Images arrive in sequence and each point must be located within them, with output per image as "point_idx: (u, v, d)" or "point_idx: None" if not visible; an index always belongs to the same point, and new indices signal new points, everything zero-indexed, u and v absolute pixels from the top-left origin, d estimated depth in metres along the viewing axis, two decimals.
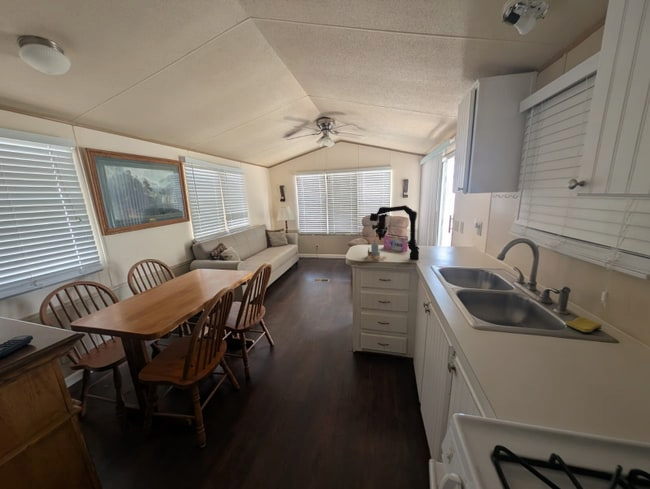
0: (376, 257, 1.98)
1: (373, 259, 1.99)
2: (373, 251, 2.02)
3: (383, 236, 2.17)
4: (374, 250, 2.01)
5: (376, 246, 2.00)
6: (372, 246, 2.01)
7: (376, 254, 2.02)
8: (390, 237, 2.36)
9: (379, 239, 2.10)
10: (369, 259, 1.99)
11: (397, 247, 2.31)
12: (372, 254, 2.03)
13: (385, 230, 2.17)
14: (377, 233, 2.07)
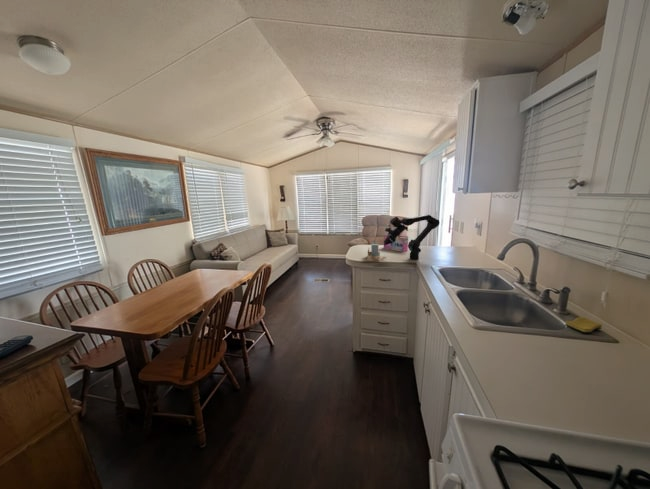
0: (376, 257, 1.98)
1: (373, 259, 1.99)
2: (373, 251, 2.02)
3: (385, 241, 2.05)
4: (374, 250, 2.01)
5: (376, 246, 2.00)
6: (372, 246, 2.01)
7: (376, 254, 2.02)
8: None
9: (384, 244, 1.96)
10: (369, 259, 1.99)
11: (397, 247, 2.31)
12: (372, 254, 2.03)
13: None
14: (388, 238, 1.93)
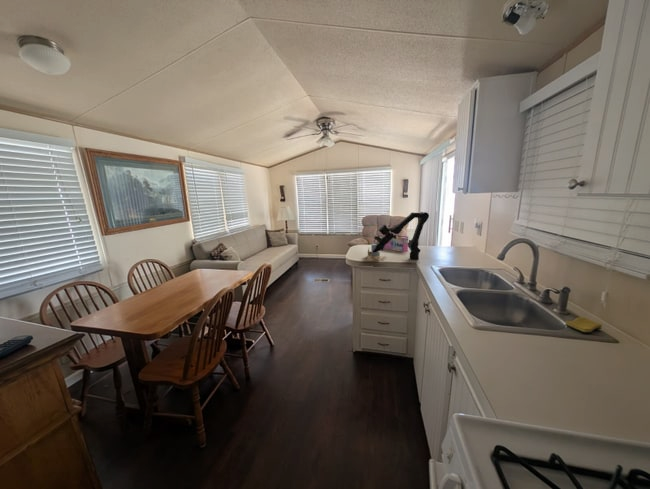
0: (376, 257, 1.98)
1: (373, 259, 1.99)
2: None
3: None
4: None
5: None
6: (372, 246, 2.01)
7: (376, 254, 2.02)
8: None
9: (373, 251, 2.01)
10: (369, 259, 1.99)
11: (397, 247, 2.31)
12: (372, 254, 2.03)
13: None
14: (376, 246, 1.98)
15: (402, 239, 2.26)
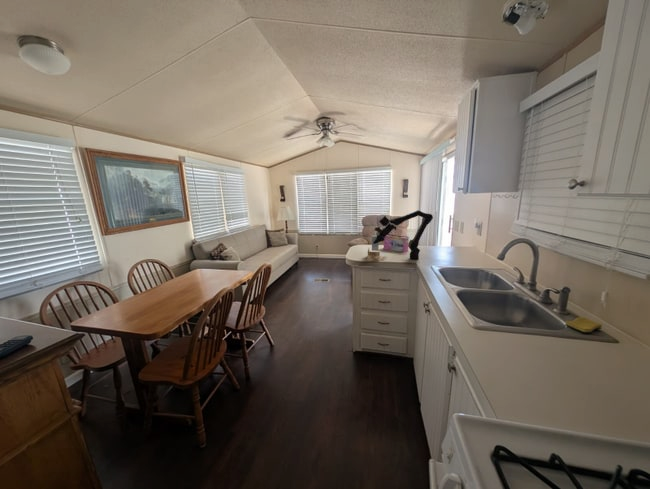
0: (376, 257, 1.98)
1: (373, 259, 1.99)
2: None
3: None
4: None
5: (376, 237, 2.01)
6: (372, 237, 2.02)
7: (376, 245, 2.03)
8: (390, 237, 2.34)
9: (373, 242, 2.02)
10: (369, 259, 1.99)
11: (398, 248, 2.30)
12: (372, 245, 2.03)
13: None
14: (377, 237, 1.99)
15: (403, 239, 2.25)
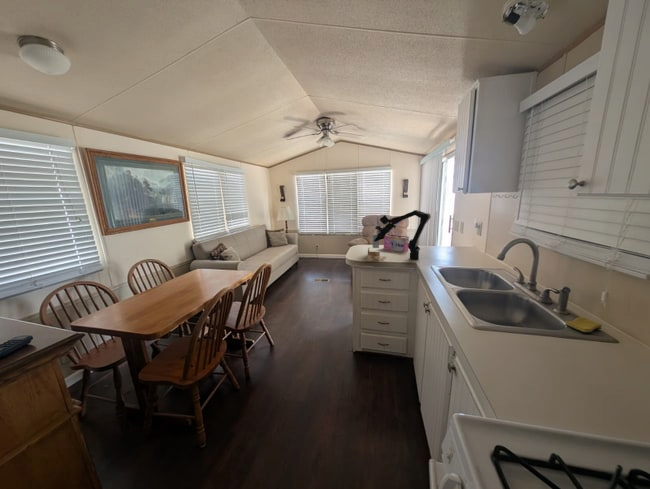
0: (376, 257, 1.98)
1: (373, 259, 1.99)
2: None
3: None
4: None
5: None
6: (373, 235, 2.14)
7: (377, 243, 2.15)
8: (391, 237, 2.33)
9: (374, 240, 2.14)
10: (369, 259, 1.99)
11: (398, 248, 2.30)
12: (373, 243, 2.15)
13: None
14: (377, 235, 2.11)
15: (403, 239, 2.25)
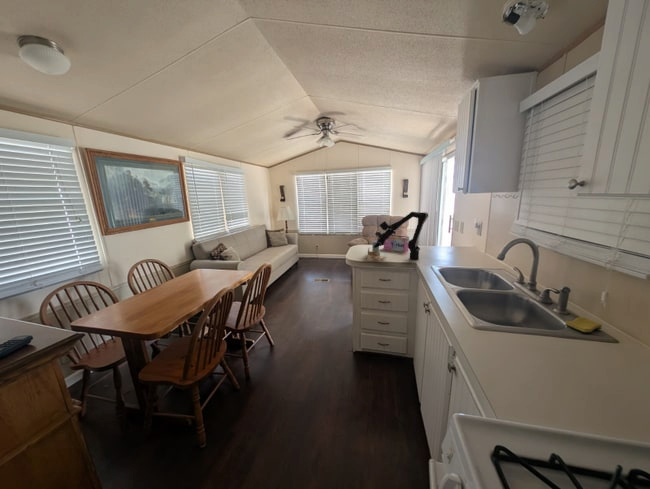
0: (376, 257, 1.98)
1: (373, 259, 1.99)
2: (374, 248, 2.16)
3: None
4: None
5: None
6: (373, 243, 2.15)
7: (377, 250, 2.16)
8: (391, 238, 2.33)
9: (374, 246, 2.14)
10: (369, 259, 1.99)
11: (398, 248, 2.29)
12: (373, 250, 2.17)
13: None
14: (377, 241, 2.10)
15: (403, 239, 2.24)
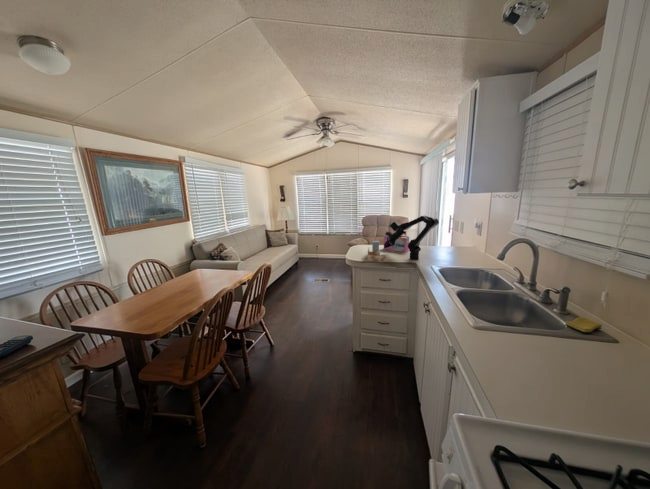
0: (376, 257, 1.98)
1: (373, 259, 1.99)
2: (374, 248, 2.16)
3: (385, 244, 2.20)
4: (375, 247, 2.16)
5: (377, 243, 2.15)
6: (373, 243, 2.15)
7: (377, 250, 2.16)
8: None
9: (384, 247, 2.12)
10: (369, 259, 1.99)
11: (398, 248, 2.29)
12: (373, 250, 2.17)
13: None
14: (387, 242, 2.08)
15: (403, 239, 2.24)
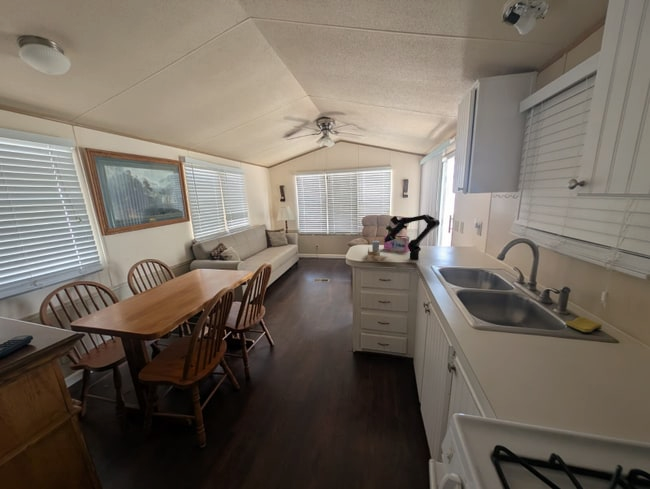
0: (376, 257, 1.98)
1: (373, 259, 1.99)
2: (374, 248, 2.16)
3: (386, 239, 2.19)
4: (375, 247, 2.16)
5: (377, 243, 2.15)
6: (373, 243, 2.15)
7: (377, 250, 2.16)
8: None
9: (384, 241, 2.10)
10: (369, 259, 1.99)
11: (399, 248, 2.29)
12: (373, 250, 2.17)
13: None
14: (388, 236, 2.07)
15: (404, 239, 2.24)
